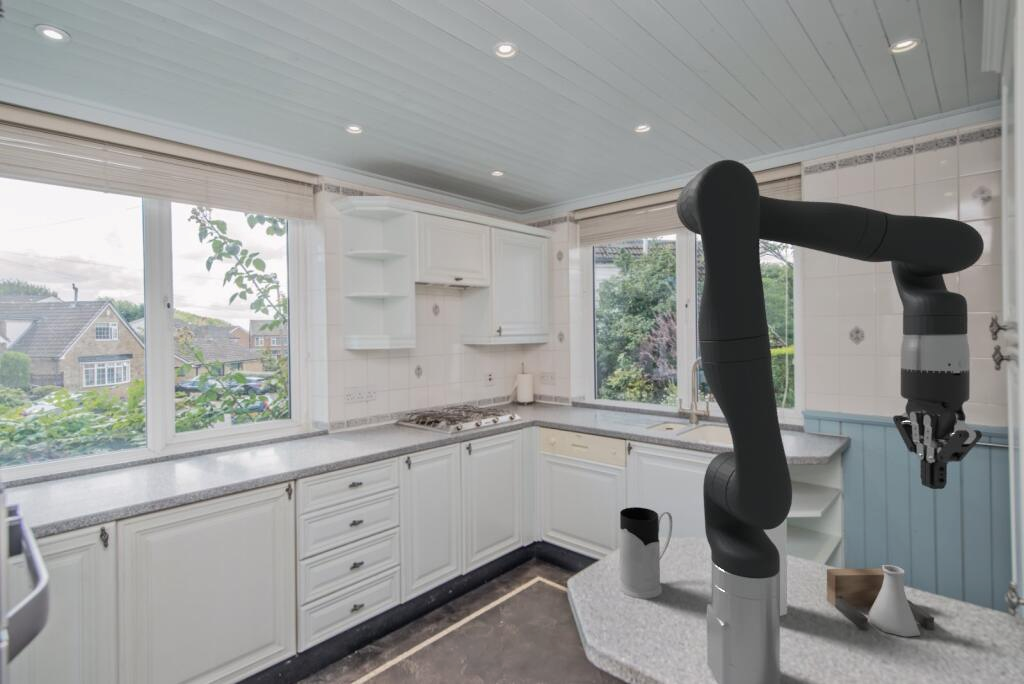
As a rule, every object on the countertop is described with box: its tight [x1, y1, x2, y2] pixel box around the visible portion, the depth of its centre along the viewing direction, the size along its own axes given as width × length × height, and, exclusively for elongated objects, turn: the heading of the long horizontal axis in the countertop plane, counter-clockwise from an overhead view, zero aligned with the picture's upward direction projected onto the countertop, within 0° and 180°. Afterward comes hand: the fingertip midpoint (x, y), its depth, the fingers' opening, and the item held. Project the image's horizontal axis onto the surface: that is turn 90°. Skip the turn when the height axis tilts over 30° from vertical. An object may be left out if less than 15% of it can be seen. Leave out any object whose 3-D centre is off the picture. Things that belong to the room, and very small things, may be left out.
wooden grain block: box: [826, 567, 935, 631], centre depth 91 cm, size 12×10×6 cm
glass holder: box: [617, 506, 673, 600], centre depth 103 cm, size 9×14×15 cm, turn 123°
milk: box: [763, 517, 788, 617], centre depth 93 cm, size 6×6×22 cm
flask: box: [868, 564, 921, 637], centre depth 87 cm, size 7×7×10 cm
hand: (933, 487), depth 72 cm, fingers closed
